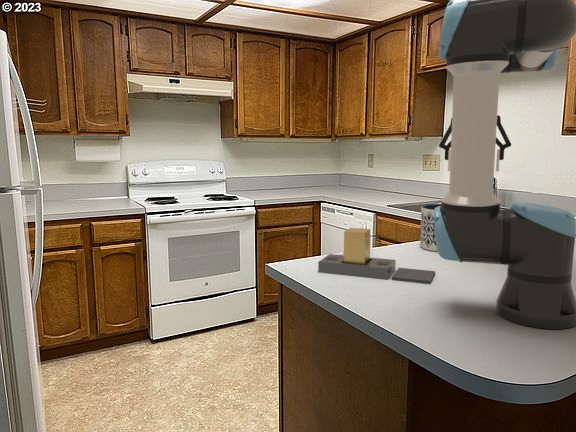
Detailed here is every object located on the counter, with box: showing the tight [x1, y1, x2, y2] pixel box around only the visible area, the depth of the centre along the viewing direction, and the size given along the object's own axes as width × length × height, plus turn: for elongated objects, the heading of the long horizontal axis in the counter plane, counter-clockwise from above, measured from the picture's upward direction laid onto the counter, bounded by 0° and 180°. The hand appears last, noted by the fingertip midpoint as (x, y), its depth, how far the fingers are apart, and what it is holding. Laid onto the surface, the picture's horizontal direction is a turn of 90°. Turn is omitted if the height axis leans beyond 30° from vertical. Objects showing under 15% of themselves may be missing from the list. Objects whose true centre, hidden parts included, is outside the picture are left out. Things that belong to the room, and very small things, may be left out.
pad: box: [391, 267, 436, 285], centre depth 123 cm, size 10×10×1 cm
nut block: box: [343, 227, 371, 265], centre depth 129 cm, size 6×6×12 cm
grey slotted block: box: [317, 253, 397, 280], centre depth 129 cm, size 20×10×3 cm, turn 65°
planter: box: [419, 203, 441, 253], centre depth 155 cm, size 16×16×14 cm
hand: (472, 171), depth 138 cm, fingers open, 13 cm apart
